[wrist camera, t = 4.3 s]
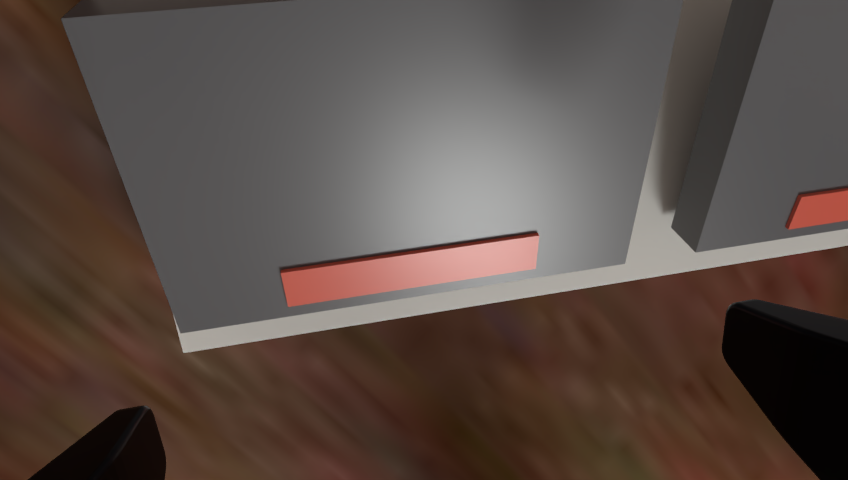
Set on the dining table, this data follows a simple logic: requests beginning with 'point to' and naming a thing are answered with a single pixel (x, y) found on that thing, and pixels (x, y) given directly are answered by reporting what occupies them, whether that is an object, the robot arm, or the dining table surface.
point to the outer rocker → (373, 142)
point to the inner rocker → (771, 129)
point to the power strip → (652, 234)
